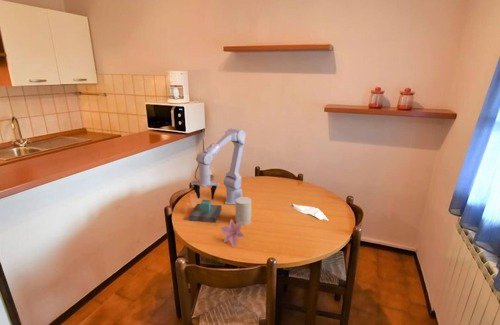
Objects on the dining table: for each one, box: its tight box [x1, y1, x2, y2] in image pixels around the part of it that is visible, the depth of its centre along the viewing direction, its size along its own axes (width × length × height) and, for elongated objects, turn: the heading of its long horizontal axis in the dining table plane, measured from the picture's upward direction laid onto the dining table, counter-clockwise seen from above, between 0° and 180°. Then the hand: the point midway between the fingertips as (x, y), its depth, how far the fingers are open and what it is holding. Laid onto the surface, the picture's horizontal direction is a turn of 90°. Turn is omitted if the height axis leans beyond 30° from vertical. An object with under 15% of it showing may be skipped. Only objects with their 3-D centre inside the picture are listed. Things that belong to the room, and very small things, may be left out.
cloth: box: [290, 203, 329, 221], centre depth 157 cm, size 26×14×2 cm, turn 32°
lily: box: [220, 219, 246, 249], centre depth 127 cm, size 12×12×10 cm
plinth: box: [188, 203, 223, 224], centre depth 150 cm, size 14×14×3 cm
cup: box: [235, 196, 252, 226], centre depth 144 cm, size 8×8×12 cm
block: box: [199, 199, 212, 212], centre depth 149 cm, size 4×4×5 cm
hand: (205, 198), depth 149 cm, fingers open, 7 cm apart
